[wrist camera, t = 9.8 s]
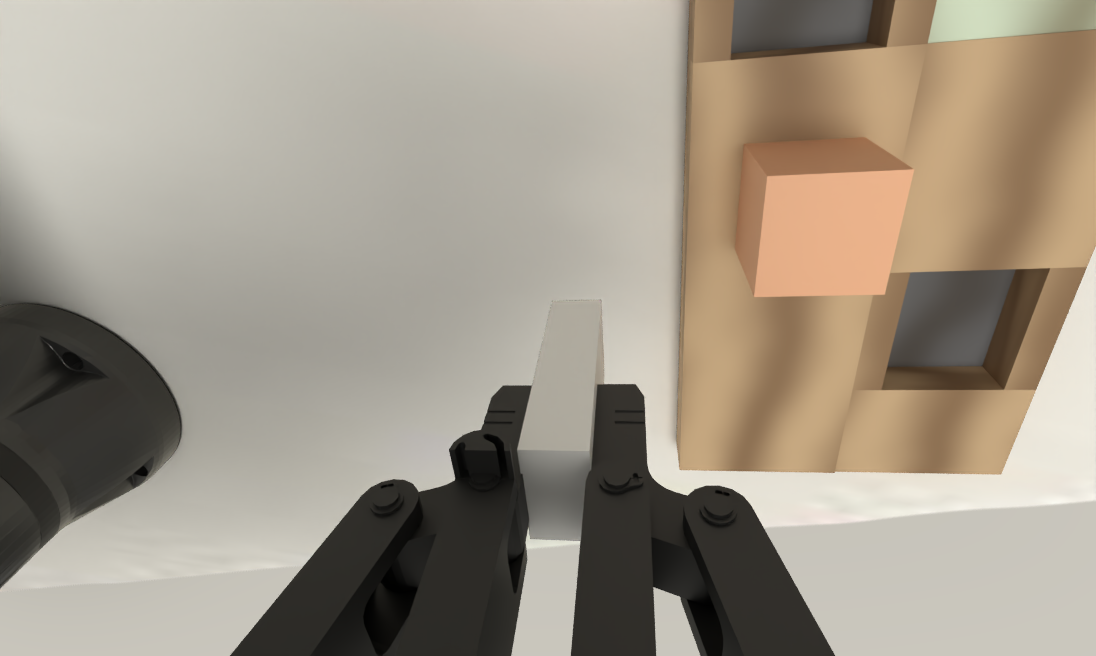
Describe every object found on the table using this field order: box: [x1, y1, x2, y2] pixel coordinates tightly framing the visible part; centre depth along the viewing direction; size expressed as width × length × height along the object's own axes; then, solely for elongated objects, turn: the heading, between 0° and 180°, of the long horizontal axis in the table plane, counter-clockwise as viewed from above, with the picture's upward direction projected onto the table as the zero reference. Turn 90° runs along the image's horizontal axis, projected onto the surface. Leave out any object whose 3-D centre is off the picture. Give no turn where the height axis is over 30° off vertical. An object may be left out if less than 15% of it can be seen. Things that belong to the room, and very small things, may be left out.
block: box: [735, 137, 914, 297], centre depth 24 cm, size 5×5×5 cm
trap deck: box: [677, 0, 1096, 474], centre depth 26 cm, size 18×31×6 cm, turn 5°
